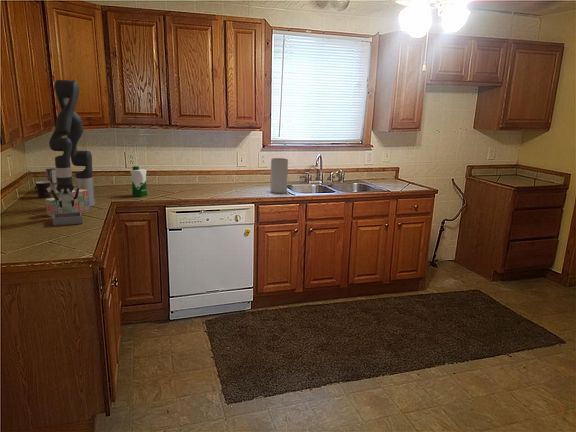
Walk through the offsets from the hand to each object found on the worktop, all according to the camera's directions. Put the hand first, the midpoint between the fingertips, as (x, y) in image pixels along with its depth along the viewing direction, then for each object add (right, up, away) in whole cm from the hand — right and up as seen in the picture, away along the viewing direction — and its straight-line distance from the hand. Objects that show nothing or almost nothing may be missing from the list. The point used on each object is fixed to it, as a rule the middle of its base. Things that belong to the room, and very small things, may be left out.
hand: (67, 206), depth 230 cm
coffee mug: (-40, +7, +46) cm, 62 cm away
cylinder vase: (+112, +13, +95) cm, 147 cm away
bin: (+5, -8, -8) cm, 12 cm away
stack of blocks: (-5, -3, +12) cm, 13 cm away
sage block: (0, -2, +1) cm, 2 cm away
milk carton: (+17, +9, +63) cm, 66 cm away
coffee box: (-42, +12, +65) cm, 78 cm away
